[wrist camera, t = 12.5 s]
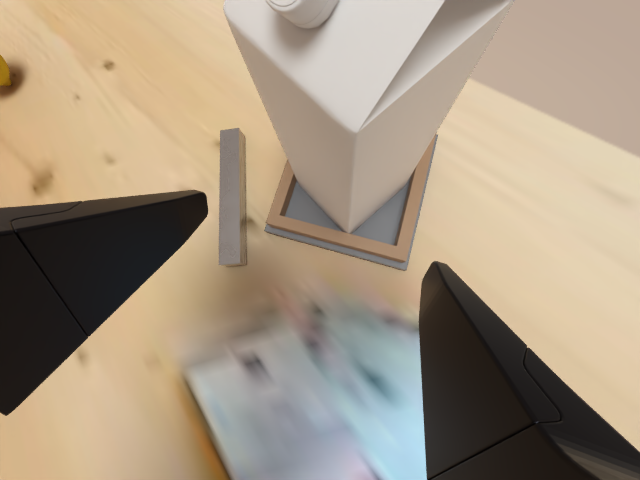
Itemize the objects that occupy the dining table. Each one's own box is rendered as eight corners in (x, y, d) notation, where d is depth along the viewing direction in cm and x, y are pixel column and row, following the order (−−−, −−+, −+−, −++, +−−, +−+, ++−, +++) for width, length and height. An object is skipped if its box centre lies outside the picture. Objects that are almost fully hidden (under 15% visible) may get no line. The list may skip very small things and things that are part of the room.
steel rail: (246, 264, 23) (239, 263, 22) (226, 266, 23) (218, 265, 22) (244, 136, 26) (238, 128, 24) (227, 139, 26) (220, 130, 25)
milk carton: (352, 139, 24) (381, -398, 5) (404, 187, 22) (711, -326, 4) (298, 185, 23) (118, -217, 5) (347, 237, 22) (367, -51, 3)
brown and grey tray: (404, 270, 21) (411, 268, 19) (267, 232, 23) (258, 226, 21) (434, 139, 24) (444, 124, 21) (306, 115, 26) (303, 98, 23)
